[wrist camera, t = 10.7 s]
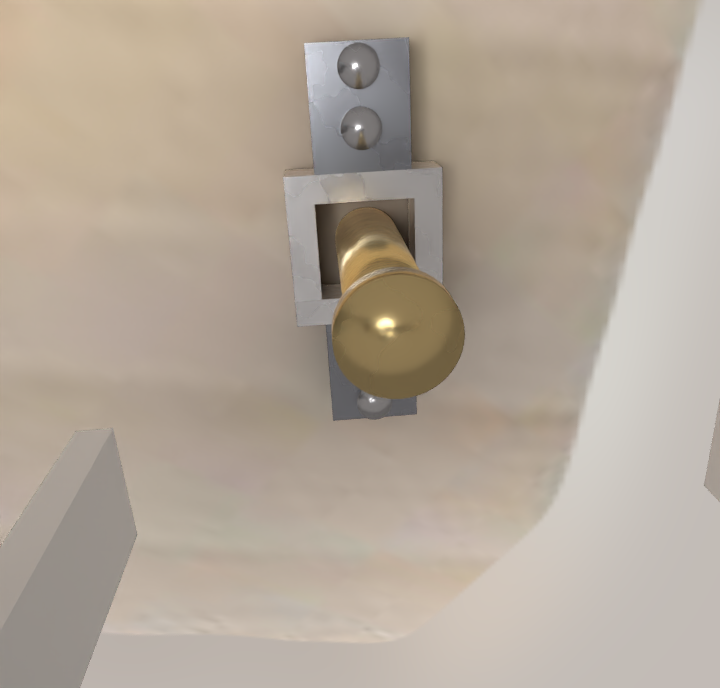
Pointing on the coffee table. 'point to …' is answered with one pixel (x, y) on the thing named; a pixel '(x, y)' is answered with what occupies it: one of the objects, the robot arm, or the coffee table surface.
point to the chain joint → (359, 183)
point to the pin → (390, 312)
